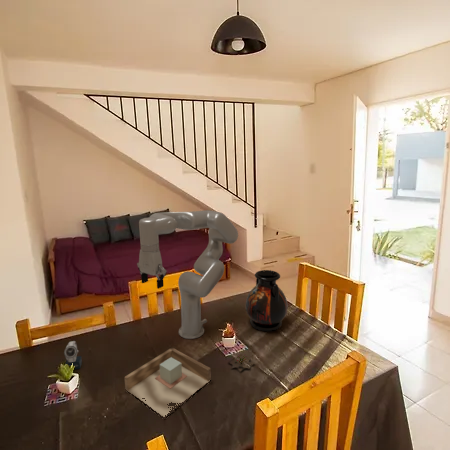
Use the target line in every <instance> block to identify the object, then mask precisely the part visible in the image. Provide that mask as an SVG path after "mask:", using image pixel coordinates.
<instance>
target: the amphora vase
mask: <svg viewBox="0 0 450 450" xmlns="http://www.w3.org/2000/svg"><path fill="white" fill-rule="evenodd" d="M254 277H255V279H256V281H255V286H254V287H252V289H251V290H250V291H249V292H248V295H247V297H246V301H245V312H246V314H247V316H248V317H249V318H250V321H249V322H250V325H251V327H253V328H254V329H256V330H258V331H261V330H262V332H273V331H272V330H275V331H277V330H279V329H280V328H281V327H282V324H283V320H284V319H285V317H286V316H287V313H288V307H289V306H288V299H287V297H286V295H285V293H284V291H283V290H282V289H281V288H280V287H279V285H278V284H277V281H279V280H280V278H281V274H280V273H279V272H278V271H274V270H271V269H270V270H269V269H263V270H262V269H261V270H258V271H256V272H255V274H254ZM280 326H281V327H280ZM279 327H280V328H279ZM278 328H279V329H278ZM276 329H277V330H276Z"/></svg>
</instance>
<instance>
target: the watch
mask: <svg viewBox="0 0 450 450" xmlns="http://www.w3.org/2000/svg"><path fill="white" fill-rule="evenodd" d="M78 353H79V350H78V345H77V342H76V341H75V340H73V341H69V342H68V343H67V345H66V347H65V349H64V352H63V354H64V357H65V359H66V361H65V364H68V365H69V366H71V365H72V363H73V365H74V366H75V370H79V369H81V368H82V367H81V366H82V363H83V360H82V355H80V356H79V355H78ZM77 355H78V356H77ZM65 364H64V365H65Z"/></svg>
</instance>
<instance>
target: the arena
mask: <svg viewBox="0 0 450 450" xmlns="http://www.w3.org/2000/svg"><path fill="white" fill-rule="evenodd" d="M171 357H172V358H174V359H175V360H177V361H179V362H181V363H182V377H180V378H179V379H177V380H176V381H175V382H173V383H172V384H169V383H168V382H166V381H164V380H163V379H161V378H160V364H161V363H163V362H164V361H166V360H167V359H169V358H171ZM211 371H212V368H211V367H209V366H207V365H205V364H203V363H202V362H200V361H198V360H196V359H195V358H192V357H191V356H188V355H186V354H185V353H183V352H181V351H179V350H177V349H176V348H174V347H170V348H169V349H167V350H166V351H164V352H162V353H161V354H159V355H157V356H156V357H155V358H153V359H151V360H150V361H148V362H146V363H145V364H143V365H140V367H138V368H137V369H135V370H134V371H132V372H130V373H129V374H127V375H125V376H124V389H126V390H127V391H128V392H130V393H131V394H133V395H134V396H136V397H137V398H139V399H140V400H141V401H143V402H144V403H145V404H147V405H148V406H149V407H151V408H152V409H153V410H154V411H156V412H157V413H159V414H160V415H161V416H163V417H165V415H166V416H167V414H168V413H170V412H169V411H171V410H172V407H173V408H174V406H168V405H169V403H171V402H172V403H176V405H177V406H178V404H179V403H182V402H184V401H185V400H186V399H188V398H189V397H190V396H191V395H193V394H194V393H195V392H196V391H197V390H199V389H200V388H202V387H203V386H204V385H205V384H206V383H208V382H209V381H210V380H211V381H212V379H211V378H212V377H211V376H212V372H211ZM208 384H209V383H208ZM202 389H203V388H202ZM127 391H126V392H127ZM128 392H127V393H128ZM131 394H130V395H131ZM142 398H145V399H142ZM145 400H146V401H145ZM177 403H178V404H177ZM167 404H168V405H167ZM176 405H175V406H176ZM179 405H180V404H179ZM168 407H169V408H168ZM170 407H171V408H170ZM175 408H176V407H175ZM170 409H171V410H170ZM173 410H174V409H173Z"/></svg>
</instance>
